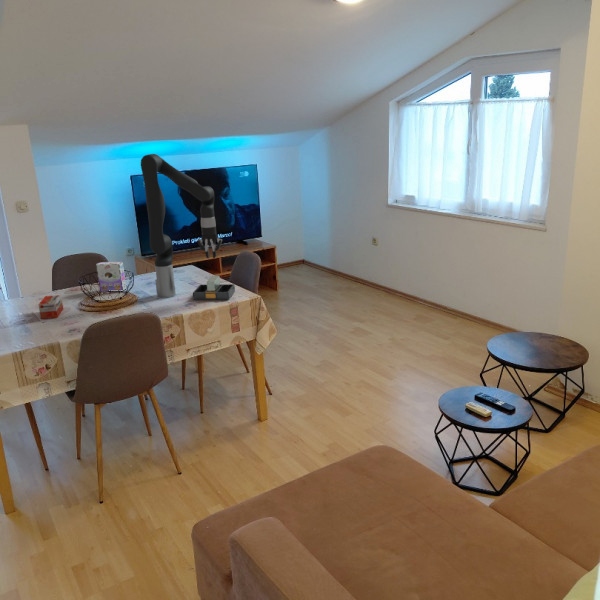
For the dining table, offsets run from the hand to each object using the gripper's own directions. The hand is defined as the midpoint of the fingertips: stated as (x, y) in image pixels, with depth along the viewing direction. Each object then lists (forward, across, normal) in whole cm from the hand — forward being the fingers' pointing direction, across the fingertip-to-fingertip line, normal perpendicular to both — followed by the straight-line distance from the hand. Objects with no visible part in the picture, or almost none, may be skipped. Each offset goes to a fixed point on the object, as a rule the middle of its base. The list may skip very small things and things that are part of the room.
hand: (211, 257), depth 307 cm
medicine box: (+21, -77, -29) cm, 85 cm away
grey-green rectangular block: (+20, 0, 0) cm, 20 cm away
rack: (+21, 0, 0) cm, 21 cm away
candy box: (+21, -62, +12) cm, 67 cm away
